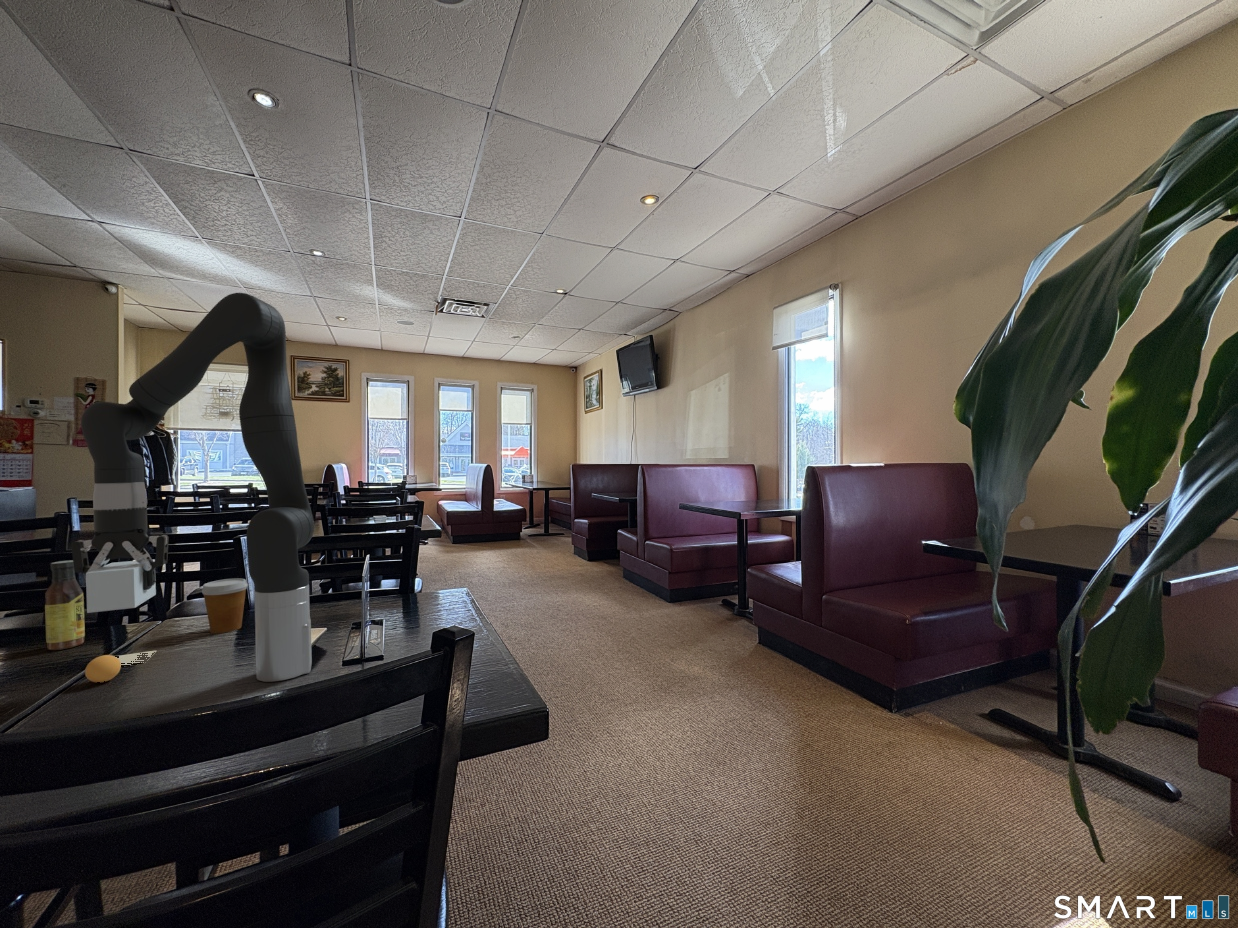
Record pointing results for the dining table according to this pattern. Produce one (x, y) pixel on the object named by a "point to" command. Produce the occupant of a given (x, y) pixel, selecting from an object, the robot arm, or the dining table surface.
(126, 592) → the white angular block
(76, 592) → the sauce bottle
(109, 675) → the brown egg
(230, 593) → the disposable coffee cup
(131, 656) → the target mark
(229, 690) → the dining table surface
